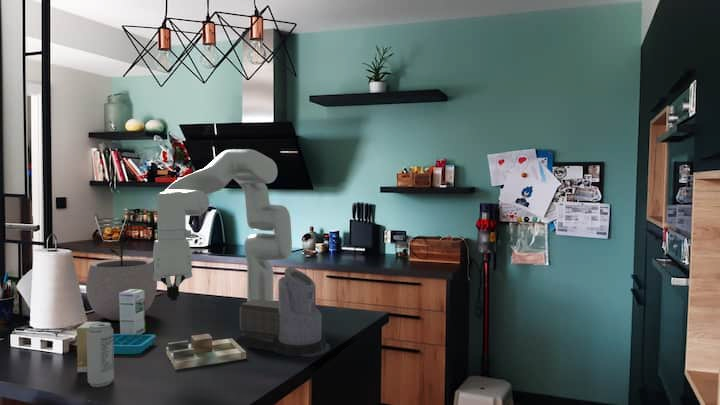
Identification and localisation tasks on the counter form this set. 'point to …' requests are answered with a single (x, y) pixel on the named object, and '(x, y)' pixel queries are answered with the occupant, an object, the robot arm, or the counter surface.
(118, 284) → the plant pot
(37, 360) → the counter surface
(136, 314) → the syrup box
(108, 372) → the energy drink can
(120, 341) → the ice cube tray
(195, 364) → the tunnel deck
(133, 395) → the counter surface
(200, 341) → the walnut block
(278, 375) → the counter surface
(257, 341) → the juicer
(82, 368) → the skincare box
